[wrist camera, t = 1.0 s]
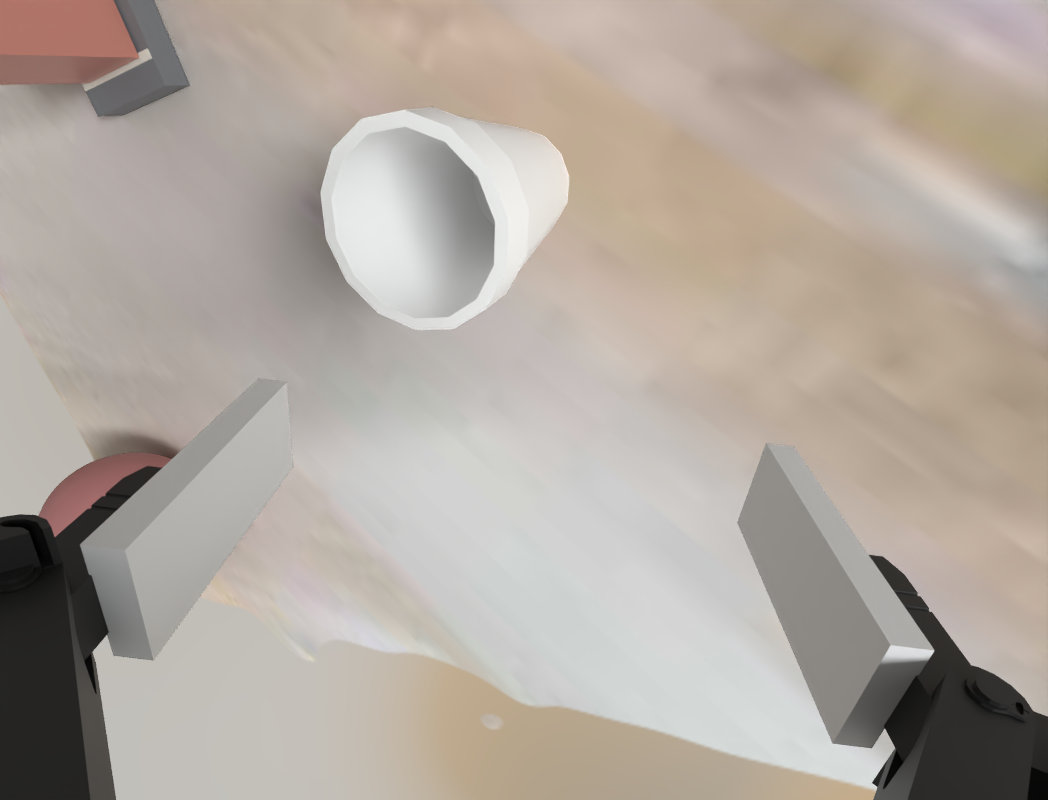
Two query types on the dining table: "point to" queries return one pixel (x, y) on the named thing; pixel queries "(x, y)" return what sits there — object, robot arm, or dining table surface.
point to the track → (139, 64)
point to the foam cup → (438, 211)
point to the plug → (61, 41)
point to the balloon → (92, 486)
